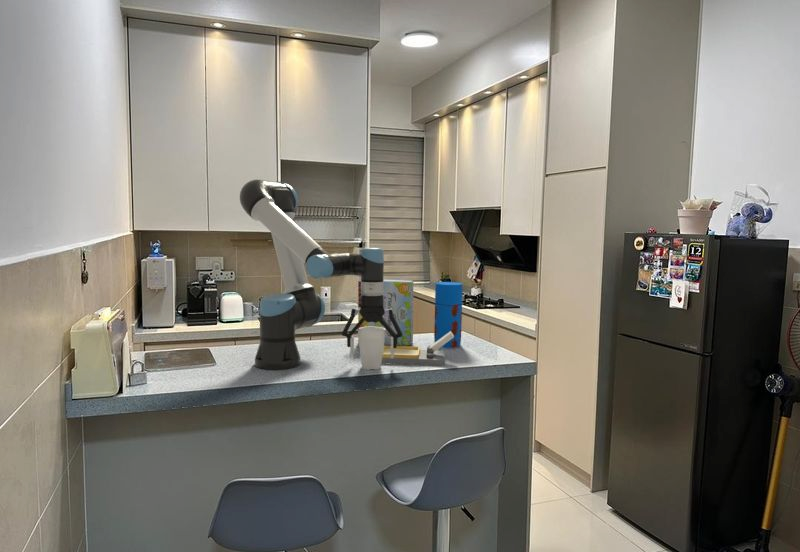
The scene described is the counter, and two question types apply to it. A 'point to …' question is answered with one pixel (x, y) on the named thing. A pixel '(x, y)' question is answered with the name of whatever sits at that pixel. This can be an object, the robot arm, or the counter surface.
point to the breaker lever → (440, 343)
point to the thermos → (448, 312)
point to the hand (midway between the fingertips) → (372, 357)
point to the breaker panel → (412, 356)
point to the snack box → (395, 309)
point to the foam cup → (371, 346)
